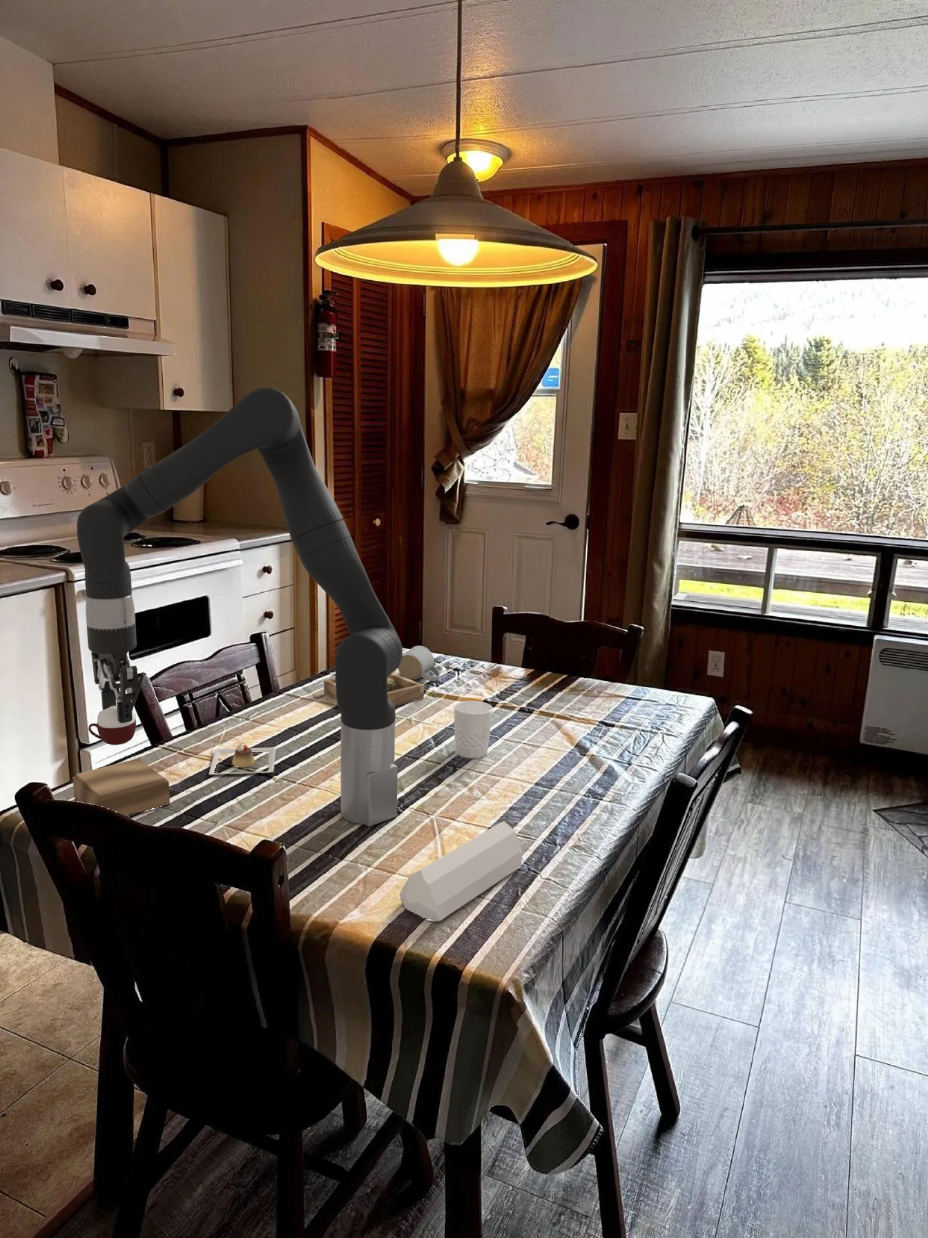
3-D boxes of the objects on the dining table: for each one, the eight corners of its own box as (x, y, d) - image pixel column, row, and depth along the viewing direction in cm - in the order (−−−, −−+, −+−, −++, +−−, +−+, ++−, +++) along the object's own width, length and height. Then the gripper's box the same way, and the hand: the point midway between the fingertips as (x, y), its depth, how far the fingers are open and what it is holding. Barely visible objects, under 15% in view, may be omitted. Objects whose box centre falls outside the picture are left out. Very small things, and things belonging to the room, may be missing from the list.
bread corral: (423, 698, 206) (424, 685, 205) (366, 713, 195) (366, 699, 194) (380, 680, 218) (380, 667, 218) (324, 694, 207) (324, 680, 206)
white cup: (444, 751, 175) (446, 706, 172) (470, 742, 181) (472, 698, 178) (472, 763, 170) (474, 716, 167) (498, 753, 175) (500, 707, 173)
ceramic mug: (395, 679, 220) (396, 651, 218) (407, 670, 228) (409, 643, 226) (432, 685, 217) (434, 657, 215) (444, 676, 224) (445, 649, 222)
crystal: (440, 912, 113) (540, 846, 131) (406, 872, 116) (509, 812, 134) (418, 943, 116) (518, 874, 135) (386, 903, 119) (488, 841, 138)
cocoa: (85, 747, 143) (76, 681, 140) (107, 732, 149) (98, 668, 146) (136, 751, 141) (128, 683, 138) (156, 735, 147) (148, 671, 144)
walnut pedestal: (170, 804, 147) (168, 778, 146) (100, 825, 139) (98, 798, 138) (141, 781, 156) (140, 756, 155) (74, 800, 148) (72, 773, 147)
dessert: (275, 752, 173) (275, 730, 171) (273, 777, 161) (272, 754, 160) (215, 754, 170) (214, 732, 169) (208, 779, 159) (207, 756, 158)
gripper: (151, 627, 137) (156, 723, 141) (116, 610, 147) (122, 700, 151) (104, 634, 132) (111, 733, 136) (72, 615, 142) (79, 709, 146)
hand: (117, 715), depth 144 cm, fingers closed on cocoa, 6 cm apart
